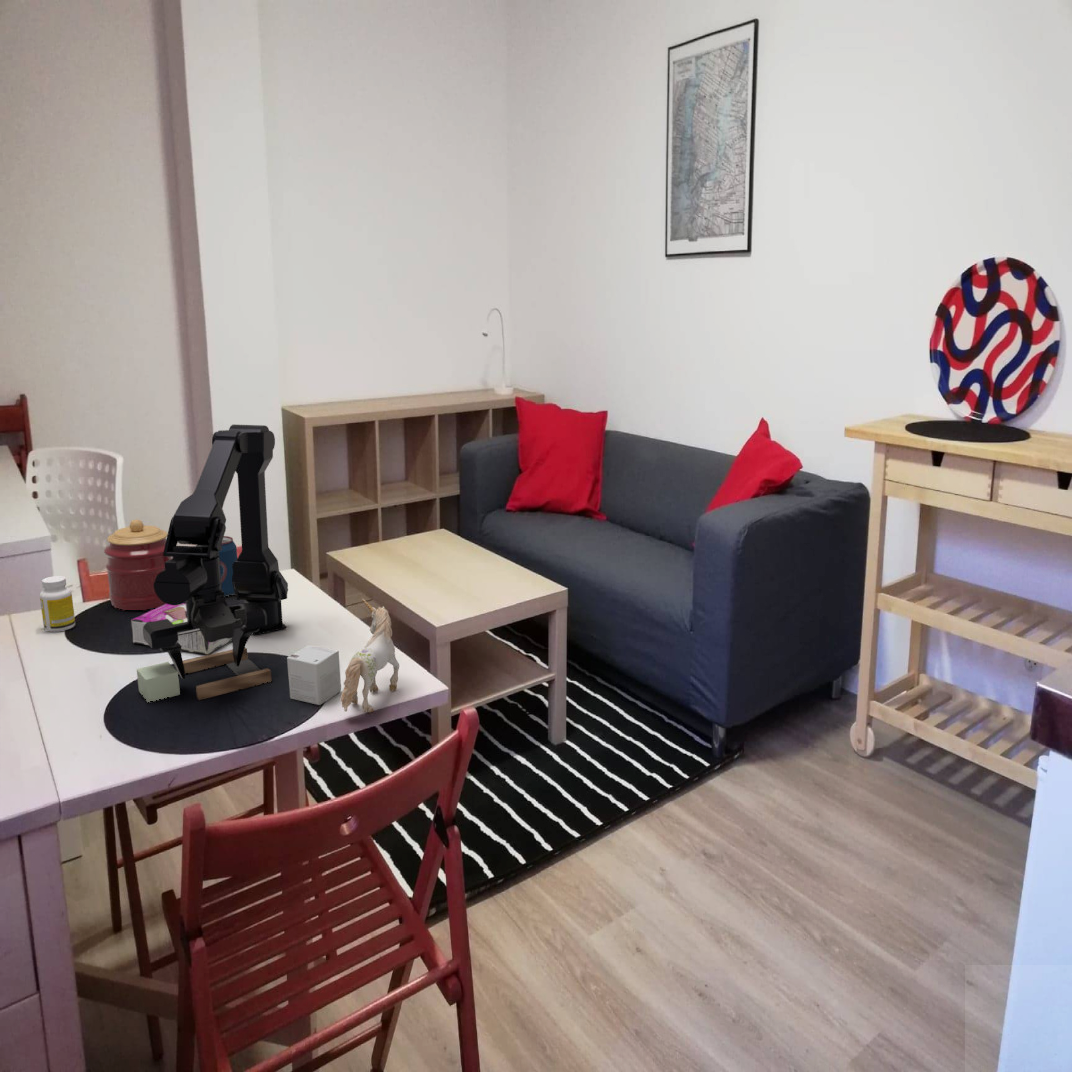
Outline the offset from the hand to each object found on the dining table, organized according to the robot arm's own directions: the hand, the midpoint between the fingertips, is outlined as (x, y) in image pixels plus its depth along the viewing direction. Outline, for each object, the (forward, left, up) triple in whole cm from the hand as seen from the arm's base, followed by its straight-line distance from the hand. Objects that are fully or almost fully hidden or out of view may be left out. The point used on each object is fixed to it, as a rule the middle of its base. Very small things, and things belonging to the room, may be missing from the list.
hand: (210, 671), depth 150 cm
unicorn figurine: (-18, +19, -2) cm, 26 cm away
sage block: (+8, 0, -2) cm, 9 cm away
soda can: (-16, -42, -2) cm, 45 cm away
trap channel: (-2, 0, -2) cm, 3 cm away
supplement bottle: (+16, -40, -2) cm, 43 cm away
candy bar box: (+2, -27, +1) cm, 27 cm away
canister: (-1, -46, -2) cm, 46 cm away
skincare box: (-12, +15, -2) cm, 19 cm away
